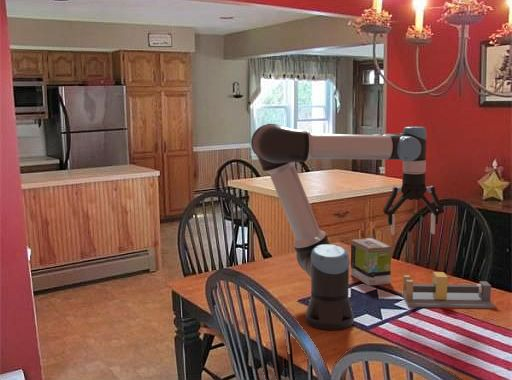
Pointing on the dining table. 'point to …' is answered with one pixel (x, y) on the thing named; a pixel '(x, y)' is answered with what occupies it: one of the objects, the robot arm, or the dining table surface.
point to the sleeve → (440, 285)
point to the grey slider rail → (455, 295)
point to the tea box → (371, 261)
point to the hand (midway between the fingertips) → (412, 233)
